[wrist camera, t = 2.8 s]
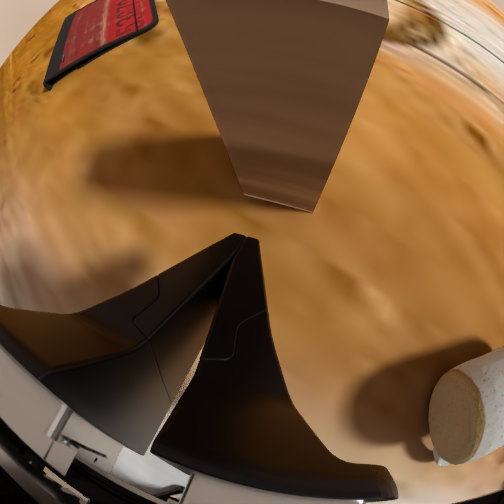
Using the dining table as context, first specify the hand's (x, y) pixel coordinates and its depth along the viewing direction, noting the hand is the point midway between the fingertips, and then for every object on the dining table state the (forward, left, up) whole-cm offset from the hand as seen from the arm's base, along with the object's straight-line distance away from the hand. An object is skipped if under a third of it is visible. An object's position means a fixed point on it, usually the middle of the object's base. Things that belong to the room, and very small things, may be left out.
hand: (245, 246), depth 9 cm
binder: (+4, +40, -8) cm, 41 cm away
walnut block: (+5, +4, -8) cm, 10 cm away
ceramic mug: (+6, -19, -8) cm, 21 cm away
